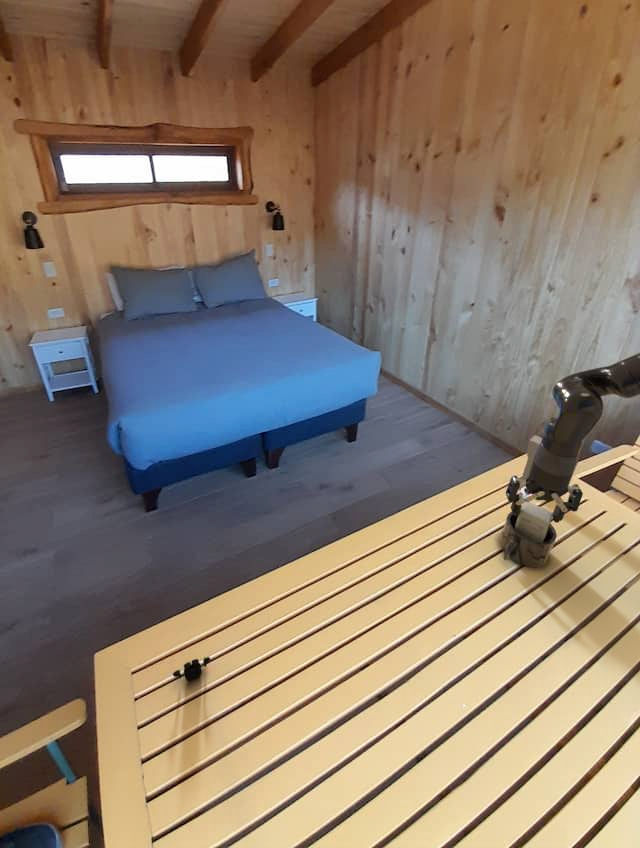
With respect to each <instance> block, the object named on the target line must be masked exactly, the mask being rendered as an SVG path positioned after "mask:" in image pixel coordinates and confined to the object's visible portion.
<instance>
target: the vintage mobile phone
mask: <svg viewBox="0 0 640 848" xmlns="http://www.w3.org/2000/svg"><path fill="white" fill-rule="evenodd" d="M554 418H555V417H550V421H551V420H552V419H554ZM541 441H542V437H541V436H538V435H537V434H535V435H534V436H532V437H531V438H530V439H529V442H528V447H527V452H526V456H527V460H526V463H525V466H524V469H523V472H522V475H521V476H520V477H519V479H522V480H526V479H527V478H528V477H529V473H530V469H531V466H532V463H533V460H534V455H535V453H536V451H537V448H538V446H539V445H540V443H541ZM523 487H525V486H522V487H521V488H523ZM528 493H530V492H529V491H528Z"/></svg>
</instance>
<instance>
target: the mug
mask: <svg viewBox="0 0 640 848" xmlns="http://www.w3.org/2000/svg"><path fill="white" fill-rule="evenodd" d="M517 519H518V516H514V513H512V511H510V512H509V513H508V514H507V516H506V519H505V523H504V525H503V528H502V532H501V534H500V537H499V545H500V548H501V550H502V551H503V557H502V558H503V560H504V561H509V560H512V561H513V562H515V563H516V564H518V565H521V566H524V567H527V568H540V567H543V566H544V565H546V563H547V561H548V559H549V558H550V557H549V556H550V555H551V552H552V549H553V547H554V544H555V542H556V539H557V531H556V529H555V527H554V525H552V523H551V522H550V524H549V527H548V530H547V533H546V536H545V539H544V542H536V541H532V540H529V539H527V538H525V537H523V536H522V535H520V534H519V533H517V532H516V530H515V526H516V522H517Z"/></svg>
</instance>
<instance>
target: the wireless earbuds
mask: <svg viewBox="0 0 640 848" xmlns="http://www.w3.org/2000/svg"><path fill="white" fill-rule="evenodd" d="M210 661H211V657H210V656H207V657H204V658H203V659H202V662H203V666H204V668H207V667H208V666H207V664H209V663H210ZM202 674H203V671H202V665H201V663H200V662H199V659H198V658H194V659H192V660H191V661H187V662H186V663H184V664H183V676H184V678H185V681H186V682H191V681H193V680H195V679H198V678H200V677H201V676H202ZM172 676H173V677H174V678H179V679H182V673H181V670H180V669H177V670H175V671H173V672H172Z"/></svg>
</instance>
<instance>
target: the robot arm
mask: <svg viewBox="0 0 640 848" xmlns="http://www.w3.org/2000/svg"><path fill="white" fill-rule="evenodd" d="M551 394H552V397H553V399H554V401H555V403H556V405H557V407H558V409H559V415H558V417H553V418H554V419H552V420H551V419H550V420H549V421H548V423H547V425H546V426H545V428H544V432H543V433H542V437H541V438H542V441H541V443H540V445H539V446H538V448H537V451H536V453H535V455H534V460H533V463H532V466H531V469H530V473H529V477H528V478H527V479H526V480H522V479H520V478H519V477H518V476H517V475H512V476H511V478H510V481H509V482H508V485H507V488H506V490H505V495H506V498H507V501H508V502H509V503H511V505H510V510H511V512H512V513H514V516H518V515H519V512H520V509H521V507H522V505H523V503H525V502H529V503H531V502H533V500H536V501H545V502H550V503H551V502H552V501H553V502H555V507H554V509H553V511H552V512H553V515H552V518H551V519H552V520H553V522H554V523H556V524H559V522H561V521H562V520H564V517H565V514H566V513H567V512H568V511H571V512H573V513H575V512H577V511H578V510H579V507H580V503H581V500H582V498H583V496H584V495H583V494H584V493H583V491H582V490H581V487H580V486H579V484H577V483H573V484H572V485H570V483H571V481H572V478H573V475H574V473H575V471H576V468H577V465H578V463H579V458H580V454H581V451H582V448H583V447H584V443H585V441H586V438H587V437H589V435H590V434H592V431H593V430H594V429H595V428H596V426H597V425H598V424H599V423H600V422H601V420H602V417H603V415H604V411H605V402H604V399H603V398H602V397H605V396H610V395H615V396H618V397H620V398H622V399H632V398H635V397H639V396H640V352H638V353H636V354H633V355H631V356H629V357H626V358H624V359H622V360H619V361H617V362H614V363H613V364H610V365H606V366H600V367H595V368H592V369H587V370H582V371H579V372H578V371H577V372H576V373H575V372H574V373H572V374H569V375H567V376H565V377H563V378H562V379H560V380H559V381H558V382H556V383H555V385H554V386H553V389H552V392H551ZM522 486H525V487H523V488H521V487H522ZM528 491H529V492H528ZM567 493H568V494H569V495H568V499H567V501H564V499H563V498H562V497H563V496H565V495H566V494H567Z"/></svg>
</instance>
